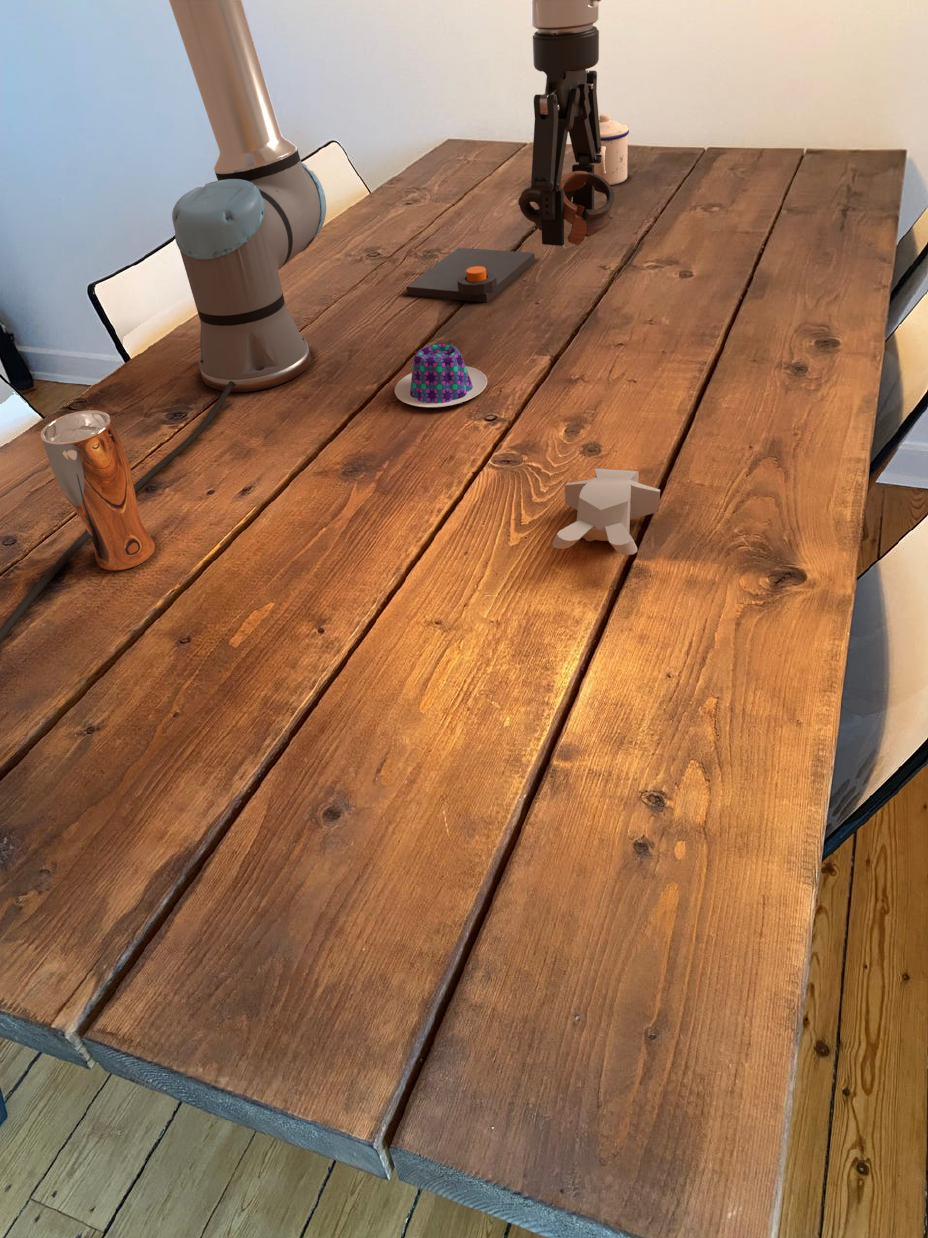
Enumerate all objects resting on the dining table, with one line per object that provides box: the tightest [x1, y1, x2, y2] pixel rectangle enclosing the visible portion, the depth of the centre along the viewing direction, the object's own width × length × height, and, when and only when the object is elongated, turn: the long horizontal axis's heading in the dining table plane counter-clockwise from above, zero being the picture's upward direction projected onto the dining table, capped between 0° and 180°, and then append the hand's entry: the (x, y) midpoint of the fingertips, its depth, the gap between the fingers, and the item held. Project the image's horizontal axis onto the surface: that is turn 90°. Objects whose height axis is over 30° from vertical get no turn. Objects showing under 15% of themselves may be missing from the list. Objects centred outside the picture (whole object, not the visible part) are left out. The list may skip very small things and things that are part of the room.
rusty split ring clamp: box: [517, 171, 616, 246], centre depth 119 cm, size 12×9×8 cm
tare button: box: [466, 266, 487, 282], centre depth 143 cm, size 3×3×2 cm
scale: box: [406, 247, 536, 304], centre depth 151 cm, size 19×14×3 cm
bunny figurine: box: [551, 468, 661, 556], centre depth 93 cm, size 10×5×15 cm
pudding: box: [394, 343, 488, 408], centre depth 120 cm, size 12×12×5 cm
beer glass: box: [39, 409, 156, 572], centre depth 95 cm, size 7×7×15 cm
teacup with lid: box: [593, 113, 630, 186], centre depth 181 cm, size 12×9×12 cm
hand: (568, 230), depth 121 cm, fingers closed on rusty split ring clamp, 9 cm apart
